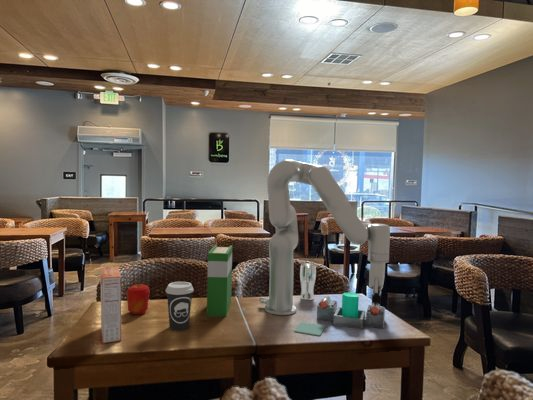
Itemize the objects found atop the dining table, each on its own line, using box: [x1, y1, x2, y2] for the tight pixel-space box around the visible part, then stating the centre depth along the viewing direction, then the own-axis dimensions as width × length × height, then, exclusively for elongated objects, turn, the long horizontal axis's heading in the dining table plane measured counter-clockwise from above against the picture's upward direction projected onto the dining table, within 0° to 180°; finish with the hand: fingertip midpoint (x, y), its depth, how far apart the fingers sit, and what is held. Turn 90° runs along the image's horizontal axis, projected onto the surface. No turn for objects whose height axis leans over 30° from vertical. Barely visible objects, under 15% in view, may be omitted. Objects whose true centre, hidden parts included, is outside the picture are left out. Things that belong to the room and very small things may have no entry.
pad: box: [293, 321, 326, 337], centre depth 135 cm, size 9×9×1 cm
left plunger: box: [318, 295, 332, 309], centre depth 144 cm, size 3×8×3 cm, turn 160°
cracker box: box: [100, 266, 122, 344], centre depth 126 cm, size 14×6×21 cm, turn 24°
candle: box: [341, 291, 360, 318], centre depth 142 cm, size 6×6×12 cm
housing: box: [316, 298, 386, 330], centre depth 143 cm, size 24×13×6 cm, turn 70°
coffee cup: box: [165, 281, 195, 332], centre depth 133 cm, size 10×10×15 cm
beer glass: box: [299, 262, 317, 301], centre depth 170 cm, size 7×7×15 cm
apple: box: [126, 282, 151, 316], centre depth 146 cm, size 9×8×12 cm
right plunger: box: [370, 302, 381, 316], centre depth 138 cm, size 3×8×3 cm, turn 160°
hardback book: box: [206, 244, 233, 318], centre depth 153 cm, size 18×7×24 cm, turn 179°
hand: (376, 305), depth 144 cm, fingers closed
